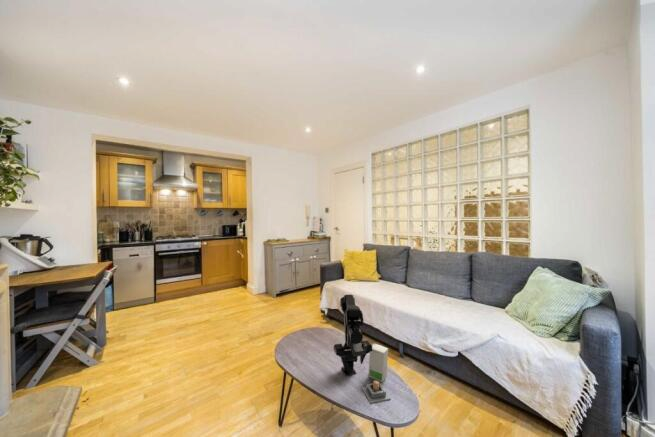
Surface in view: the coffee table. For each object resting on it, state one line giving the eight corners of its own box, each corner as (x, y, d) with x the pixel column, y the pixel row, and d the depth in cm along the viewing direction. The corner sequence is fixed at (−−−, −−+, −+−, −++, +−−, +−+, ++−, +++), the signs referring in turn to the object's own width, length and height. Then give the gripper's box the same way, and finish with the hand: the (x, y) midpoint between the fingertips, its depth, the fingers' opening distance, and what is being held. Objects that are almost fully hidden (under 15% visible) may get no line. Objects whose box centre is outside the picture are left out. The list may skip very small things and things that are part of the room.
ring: (366, 389, 122) (366, 384, 122) (379, 386, 124) (379, 382, 124) (372, 399, 115) (372, 394, 115) (385, 396, 117) (385, 391, 117)
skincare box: (368, 376, 133) (368, 347, 133) (373, 370, 138) (373, 342, 138) (383, 382, 128) (383, 352, 128) (387, 376, 134) (388, 347, 134)
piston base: (362, 388, 123) (362, 377, 123) (380, 385, 126) (380, 374, 126) (370, 403, 114) (370, 391, 114) (390, 399, 116) (390, 387, 116)
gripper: (340, 343, 113) (339, 377, 113) (377, 339, 118) (377, 372, 118) (333, 332, 124) (332, 363, 124) (368, 328, 128) (367, 359, 128)
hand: (352, 364), depth 123 cm, fingers open, 9 cm apart
